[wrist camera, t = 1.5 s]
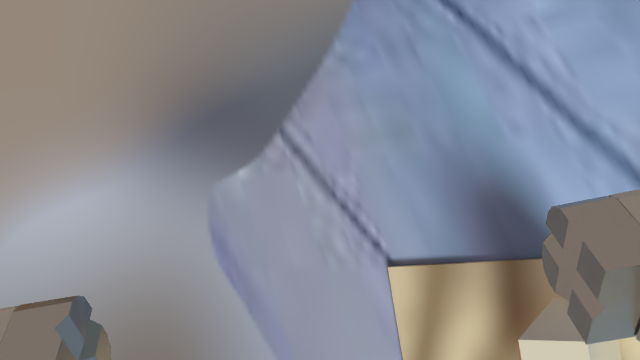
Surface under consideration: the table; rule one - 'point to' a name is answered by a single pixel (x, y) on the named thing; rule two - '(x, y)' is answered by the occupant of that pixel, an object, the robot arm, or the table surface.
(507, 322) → the board
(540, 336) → the tile
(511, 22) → the table surface
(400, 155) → the table surface
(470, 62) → the table surface
